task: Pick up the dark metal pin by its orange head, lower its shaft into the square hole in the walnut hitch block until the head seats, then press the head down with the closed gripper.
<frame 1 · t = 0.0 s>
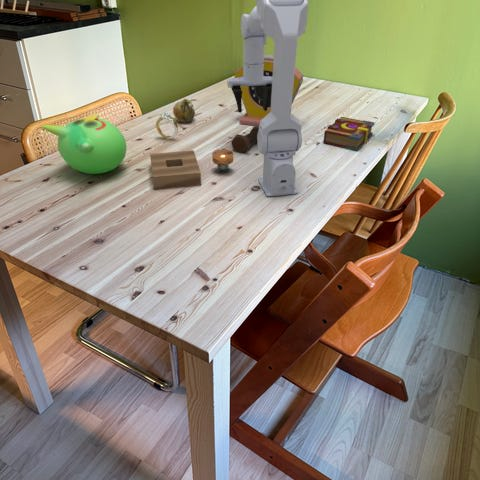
hand: (252, 110, 130), 10 cm above the table, tool pointing down, fingers open, 7 cm apart
decorative book: (348, 140, 140), on the table
yellow mantel clock: (266, 123, 151), on the table
bolt: (252, 145, 136), on the table
hitch block: (175, 174, 118), on the table
ring: (168, 139, 138), on the table
toy bird: (95, 171, 120), on the table
pin: (223, 170, 121), on the table
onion: (185, 121, 152), on the table
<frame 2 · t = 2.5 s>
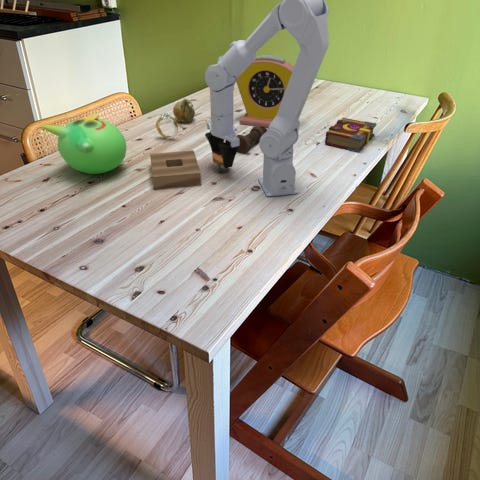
hand: (222, 162, 119), 2 cm above the table, tool pointing down, fingers closed on pin, 6 cm apart
pin: (223, 170, 121), on the table, touching gripper
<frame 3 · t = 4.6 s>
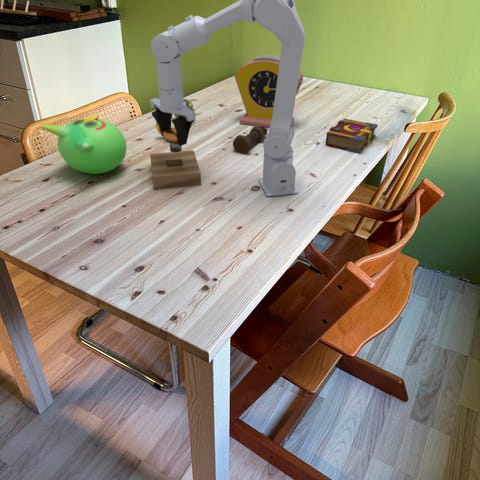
hand: (174, 141, 113), 9 cm above the table, tool pointing down, fingers closed on pin, 6 cm apart
pin: (175, 149, 115), point 7 cm above the table, touching gripper
when the fingers open (4 cm above the table, at t = 6.6 s): pin drops 1 cm, resting on hitch block.
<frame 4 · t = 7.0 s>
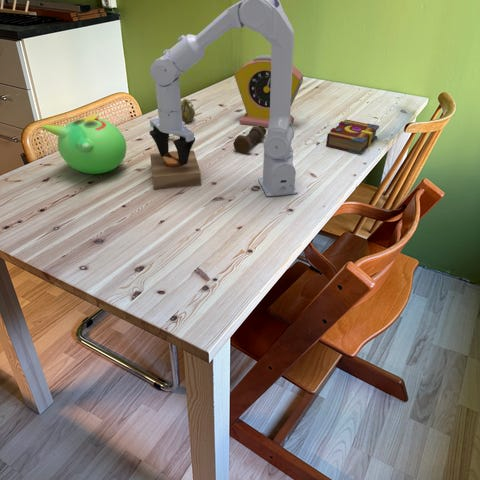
hand: (174, 159, 116), 4 cm above the table, tool pointing down, fingers open, 7 cm apart
pin: (175, 173, 118), resting on hitch block
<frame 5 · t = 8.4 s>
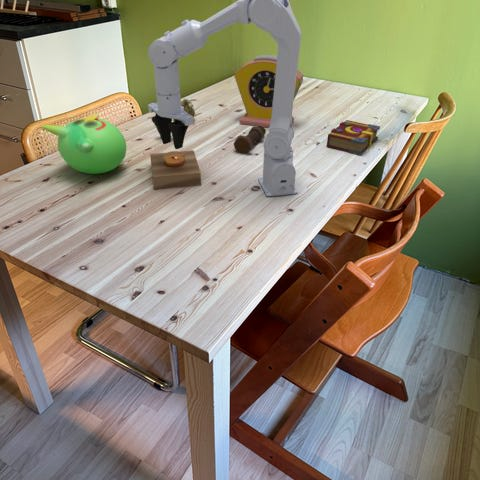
hand: (172, 145, 114), 8 cm above the table, tool pointing down, fingers open, 4 cm apart
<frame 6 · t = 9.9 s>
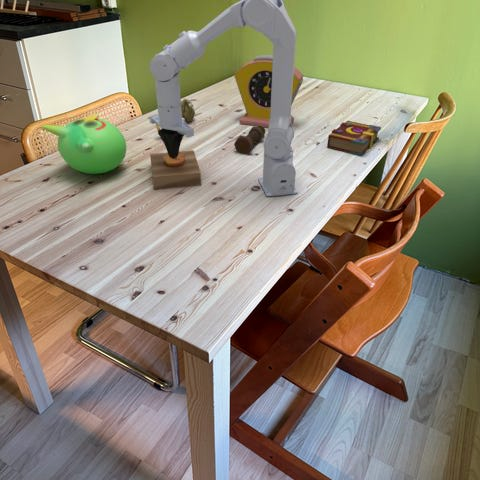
hand: (173, 156, 115), 5 cm above the table, tool pointing down, fingers closed, pressing on pin
pin: (175, 173, 118), resting on hitch block, touching gripper
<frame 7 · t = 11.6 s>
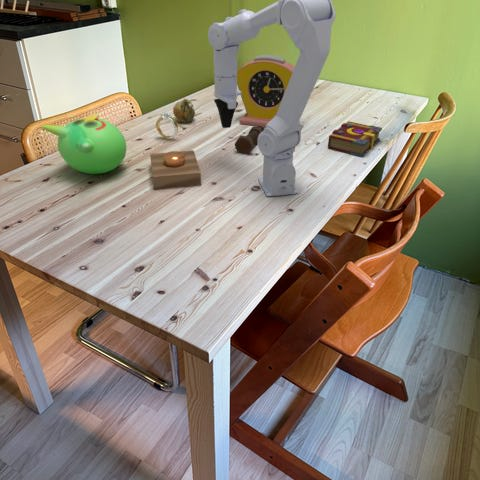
hand: (226, 126, 119), 10 cm above the table, tool pointing down, fingers closed
pin: (175, 173, 118), resting on hitch block
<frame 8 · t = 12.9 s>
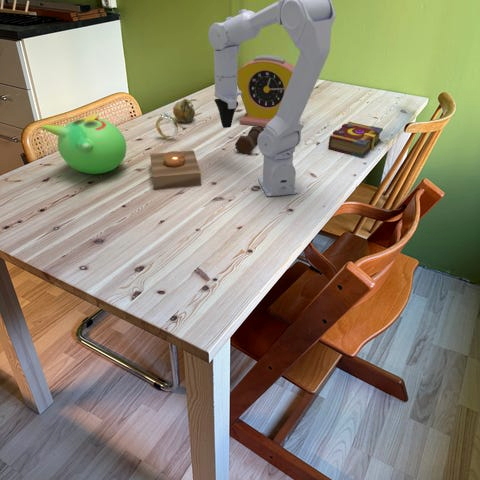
hand: (226, 126, 119), 10 cm above the table, tool pointing down, fingers closed
at the end: pin 0.1 cm off-centre on the hitch block, point 0.5 cm above the hitch block's base; pin tilted 0°; the gripper is holding nothing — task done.
